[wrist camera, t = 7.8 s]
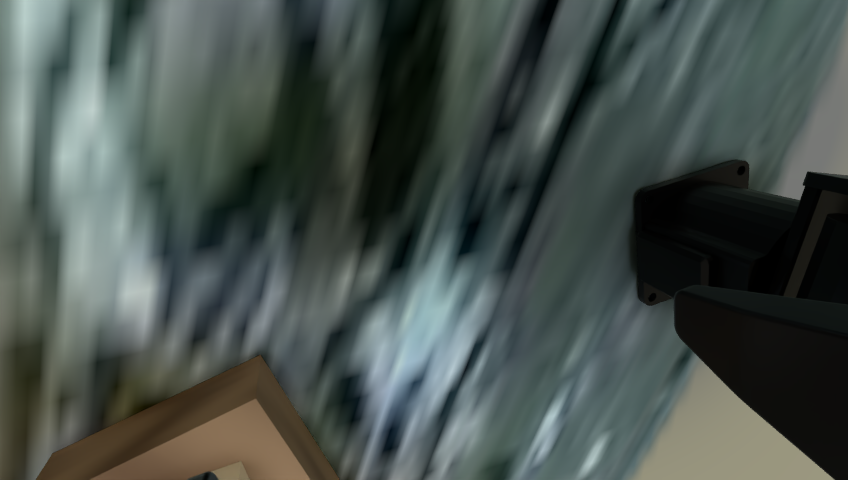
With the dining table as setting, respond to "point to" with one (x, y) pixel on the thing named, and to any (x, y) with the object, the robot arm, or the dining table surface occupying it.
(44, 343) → the dining table surface
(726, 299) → the robot arm
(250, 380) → the walnut block
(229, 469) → the cube
